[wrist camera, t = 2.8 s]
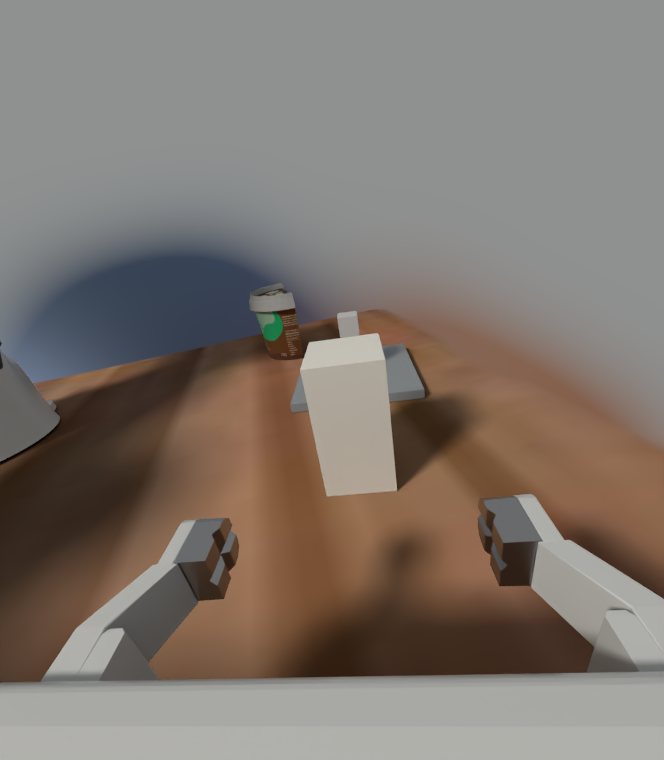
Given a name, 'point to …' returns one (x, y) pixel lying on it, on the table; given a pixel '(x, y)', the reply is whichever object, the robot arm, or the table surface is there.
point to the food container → (277, 322)
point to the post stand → (398, 369)
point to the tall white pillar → (350, 414)
